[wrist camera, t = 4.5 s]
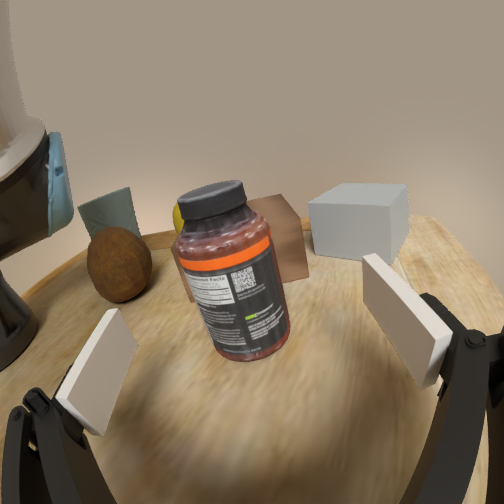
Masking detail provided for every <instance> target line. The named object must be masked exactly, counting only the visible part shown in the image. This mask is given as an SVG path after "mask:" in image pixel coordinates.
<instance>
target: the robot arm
mask: <svg viewBox="0 0 504 504" xmlns="http://www.w3.org/2000/svg"><path fill="white" fill-rule="evenodd" d="M73 215H74V207H73V201H72V195H71V189H70V183H69V178H68V172H67V166H66V159H65V153H64V147H63V141H62V138H61V134H60V132H50V134H48V135H47V133H46V130H45V127H44V124H43V122H42V121H41V120H40V119H38V118H34V117H29V116H28V115H27V113H26V110H25V107H24V103H23V99H22V95H21V91H20V87H19V82H18V78H17V73H16V68H15V62H14V56H13V50H12V42H11V33H10V22H9V0H0V261H2V260H4V259H6V258H7V257H9V256H11V255H13V254H15V253H17V252H19V251H21V250H22V249H24V248H26V247H29V246H31V245H33V244H35V243H37V242H39V241H41V240H43V239H45V238H47V237H50V236H52V234H53V233H55V232H57V231H58V230H60V229H62V228H64V227H66V226H67V225H68V224H69V223H70V222H71V220H72V218H73ZM362 269H363V302H364V303H365V305H366V306H367V308H368V309H369V311H370V312H371V314H372V315H373V317H374V318H375V320H376V321H377V323H378V324H379V326H380V327H381V329H382V330H383V332H384V333H385V335H386V336H387V338H388V339H389V341H390V343H391V344H392V346H393V347H394V349H395V350H396V352H397V354H398V355H399V357H400V358H401V360H402V362H403V363H404V365H405V367H406V368H407V370H408V371H409V373H410V375H411V376H412V378H413V380H414V382H415V383H416V385H417V387H418V388H419V390H420V391H421V390H423V389H425V388H427V387H429V386H431V385H433V384H435V383H436V381H437V378H438V376H439V374H440V376H441V377H442V379H443V380H444V381H443V383H442V385H441V388H440V390H439V392H438V394H437V396H439V399H438V403H437V407H436V411H435V414H434V418H433V421H432V424H431V428H430V431H429V434H428V437H427V440H426V443H425V446H424V448H423V451H422V454H421V457H420V459H419V462H418V464H417V467H416V469H415V471H414V474H413V476H412V478H411V480H410V483H409V485H408V487H407V489H406V491H405V493H404V495H403V497H402V499H401V501H400V503H399V504H462V502H463V499H464V497H465V494H466V491H467V488H468V485H469V482H470V479H471V476H472V473H473V469H474V465H475V462H476V458H477V454H478V450H479V445H480V440H481V435H482V430H483V424H484V418H485V411H486V412H487V423H488V443H489V464H488V483H487V494H486V502H485V504H504V326H503V328H502V331H501V333H499V334H494V335H490V336H486V335H485V334H484V333H482V332H481V331H478V330H475V329H473V330H467V329H466V328H465V327H464V326H463V325H462V323H461V322H460V321H459V320H458V319H457V318H456V317H455V316H454V315H453V314H452V313H451V312H450V311H448V309H447V308H446V307H445V306H444V305H442V303H441V302H440V301H439V300H438V299H437V298H436V297H434V296H432V295H430V294H428V293H423V294H421V295H418V294H417V293H416V292H415V291H414V290H413V289H412V288H411V287H410V286H409V285H408V284H407V283H406V282H405V281H404V280H403V279H402V278H401V277H400V276H399V275H398V274H397V273H396V272H395V271H394V270H393V269H392V268H391V267H390V266H389V265H387V264H386V263H385V262H384V261H383V260H382V259H381V258H380V257H379V256H378V255H377V254H376V253H373V254H369V255H365V256H362ZM37 327H38V321H37V319H36V317H35V315H34V314H33V312H32V310H31V309H30V307H29V306H28V305H27V304H26V303H25V302H24V301H23V300H22V299H21V298H20V297H19V296H18V294H17V293H16V292H15V291H14V290H13V289H12V288H11V287H10V285H9V284H8V283H7V282H6V281H5V279H4V277H3V275H2V272H1V270H0V371H1V370H2V369H3V368H5V367H6V366H7V365H9V364H10V363H11V362H12V361H13V360H14V359H15V358H16V357H17V356H18V355H19V354H20V353H21V352H22V351H23V350H24V349H25V348H26V346H27V345H28V344H29V343H30V341H31V340H32V338H33V336H34V335H35V333H36V330H37ZM137 348H138V344H137V342H136V340H135V339H134V337H133V335H132V333H131V331H130V330H129V328H128V326H127V324H126V322H125V320H124V318H123V316H122V315H121V313H120V311H119V309H118V308H115V309H109V310H107V311H106V313H105V314H104V316H103V317H102V319H101V321H100V322H99V324H98V325H97V327H96V328H95V330H94V331H93V333H92V335H91V336H90V338H89V339H88V341H87V342H86V344H85V346H84V347H83V349H82V351H81V352H80V354H79V356H78V357H77V359H76V361H75V362H74V363H73V364H72V365H71V366H70V367H69V369H68V371H67V372H66V375H65V376H64V378H63V379H62V380H63V381H61V383H60V385H59V386H58V388H57V390H56V392H55V394H54V396H53V398H52V399H51V400H50V399H49V398H48V397H47V396H46V394H45V393H44V392H43V391H42V390H41V389H40V388H37V387H35V388H33V389H31V390H29V391H28V392H27V393H26V395H25V396H24V398H23V404H24V405H25V406H26V407H27V408H28V410H29V411H30V412H28V411H27V410H26V409H25V408H24V407H23V406H17V407H15V408H14V409H12V411H11V413H10V415H9V419H8V424H7V430H6V436H5V444H4V452H3V463H2V483H1V498H2V504H117V503H116V501H115V499H114V497H113V496H112V494H111V492H110V490H109V488H108V486H107V484H106V482H105V480H104V478H103V476H102V473H101V471H100V469H99V467H98V465H97V462H96V460H95V458H94V455H93V453H92V450H91V448H90V445H89V442H88V440H87V437H86V436H85V435H84V434H83V433H82V432H83V430H84V428H85V429H86V430H87V431H88V432H89V433H90V434H91V435H95V436H101V437H104V435H105V432H106V429H107V426H108V423H109V421H110V418H111V415H112V412H113V409H114V406H115V404H116V401H117V398H118V396H119V393H120V390H121V388H122V385H123V382H124V380H125V377H126V375H127V372H128V370H129V367H130V365H131V362H132V360H133V357H134V355H135V353H136V350H137ZM29 442H30V443H31V444H33V445H34V446H35V447H36V450H35V451H34V450H33V449H31V448H30V447H29Z"/></svg>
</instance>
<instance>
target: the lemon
mask: <svg viewBox="0 0 504 504" xmlns="http://www.w3.org/2000/svg"><path fill="white" fill-rule="evenodd" d="M173 223H174V227H175V229H176V231H177V233H178V234H180V232H181V231H182V228H183V225H184V220H183V219H182V218H181V213H180V210H179V206H178V203H176V205H175V206H174V209H173Z"/></svg>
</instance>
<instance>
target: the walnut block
mask: <svg viewBox="0 0 504 504" xmlns="http://www.w3.org/2000/svg"><path fill="white" fill-rule="evenodd" d="M246 204H247V205H248V206H249V207H250V209H252V210H253V211H257V212H259V213H261V214H262V215H263V216H264V217H265V218H266V220H267V222H268V224H269V227H270V231H271V235H272V240H273V243H274V249H275V253H276V258H277V262H278V267H279V272H280V276H281V281H282V283H285V282H289V281H294V280H298V279H302V278H307V277H309V271H308V264H307V257H306V251H305V244H304V238H303V232H302V226H301V220H300V217H299V216H298V215H297V214H296V212H295V211H294V210H293V209H292V207H291V206H290V205H289V204H288V202H287V201H286V200H285V199H284V197H283V196H282V195H281V194H278V195H273V196H268V197H264V198H259V199H255V200H250V201H246ZM180 233H181V232H180ZM179 235H180V234H179ZM179 235H178V236H179ZM177 239H178V237H177ZM177 239H176V240H175V242H174V244H173V245H172V247H171V251H172V253H173V256H174V259H175V262H176V265H177V267H178V270H179V273H180V276H181V278H182V281H183V284H184V286H185V289H186V292H187V294H188V297H189V299H190V302H195V299H194V297H193V294H192V292H191V289H190V286H189V284H188V281H187V279H186V276H185V273H184V271H183V268H182V265H181V262H180V259H179V257H178V253H177V249H176V242H177Z"/></svg>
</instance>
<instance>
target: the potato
mask: <svg viewBox="0 0 504 504" xmlns="http://www.w3.org/2000/svg"><path fill="white" fill-rule="evenodd" d="M87 267H88V271H89V275H90V277H91V279H92V282H93V284H94V286H95V288H96V290H97V291H98V292H99V294H100V295H101V296H102V297H104V298H105V299H107V300H109V301H111V302H124V301H126V300H129V299H131V298H133V297H134V296H136V295H137V294H138V293H140V292H141V291H142V290H143V289H144V287H145V286H146V284H147V282H148V280H149V277H150V275H151V270H152V259H151V252H150V251H149V249H148V248H147V246H146V245H145V243H144V242H143V241H142V240H141V239H140V238H139V237H138V236H136V235H135V234H134V233H132V232H130V231H128V230H126V229H124V228H122V227H106V228H104V229H103V230H101V231H99V232H98V233H96V234H95V236H94V237H93V239H92V241H91V242H90V244H89V246H88V257H87Z"/></svg>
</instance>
